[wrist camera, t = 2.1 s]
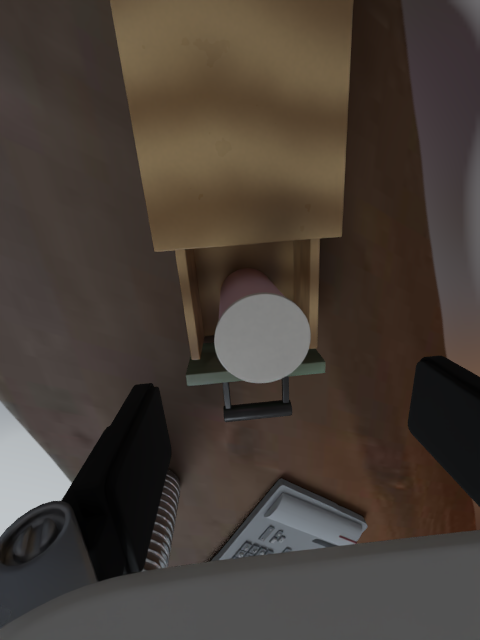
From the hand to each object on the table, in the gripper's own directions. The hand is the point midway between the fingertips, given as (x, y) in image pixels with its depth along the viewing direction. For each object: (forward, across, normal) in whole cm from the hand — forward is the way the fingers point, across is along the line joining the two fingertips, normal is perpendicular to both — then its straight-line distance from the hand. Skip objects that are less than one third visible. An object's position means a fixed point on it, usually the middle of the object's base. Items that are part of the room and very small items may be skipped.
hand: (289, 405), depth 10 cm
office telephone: (+22, -4, +44) cm, 49 cm away
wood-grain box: (+21, 0, -14) cm, 25 cm away
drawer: (+20, 0, +2) cm, 20 cm away
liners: (+19, 0, 0) cm, 19 cm away
